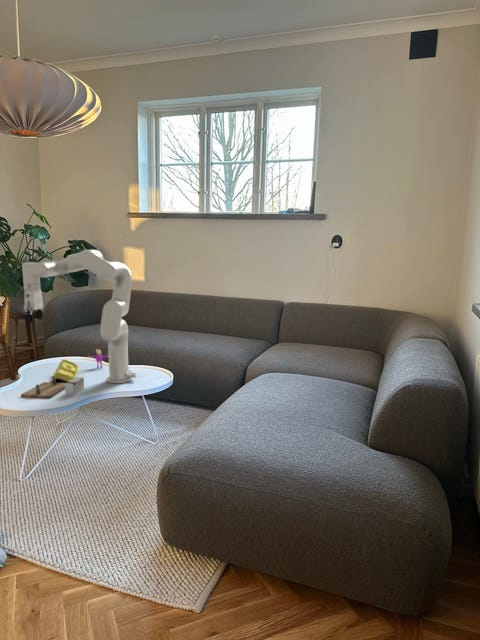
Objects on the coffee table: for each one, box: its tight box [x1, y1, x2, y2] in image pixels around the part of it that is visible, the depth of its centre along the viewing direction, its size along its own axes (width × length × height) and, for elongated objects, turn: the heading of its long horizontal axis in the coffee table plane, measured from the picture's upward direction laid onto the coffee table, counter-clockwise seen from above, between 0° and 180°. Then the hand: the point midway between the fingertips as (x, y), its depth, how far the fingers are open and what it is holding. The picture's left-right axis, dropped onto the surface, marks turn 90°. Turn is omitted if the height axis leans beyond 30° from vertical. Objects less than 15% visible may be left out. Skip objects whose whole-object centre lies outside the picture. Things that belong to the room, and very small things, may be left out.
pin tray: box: [20, 375, 66, 399], centre depth 199 cm, size 14×18×5 cm
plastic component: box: [49, 358, 79, 383], centre depth 221 cm, size 20×8×10 cm
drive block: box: [64, 376, 85, 397], centre depth 198 cm, size 4×10×6 cm, turn 173°
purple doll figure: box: [88, 347, 109, 369], centre depth 238 cm, size 11×3×12 cm, turn 95°
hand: (34, 320), depth 216 cm, fingers open, 9 cm apart
